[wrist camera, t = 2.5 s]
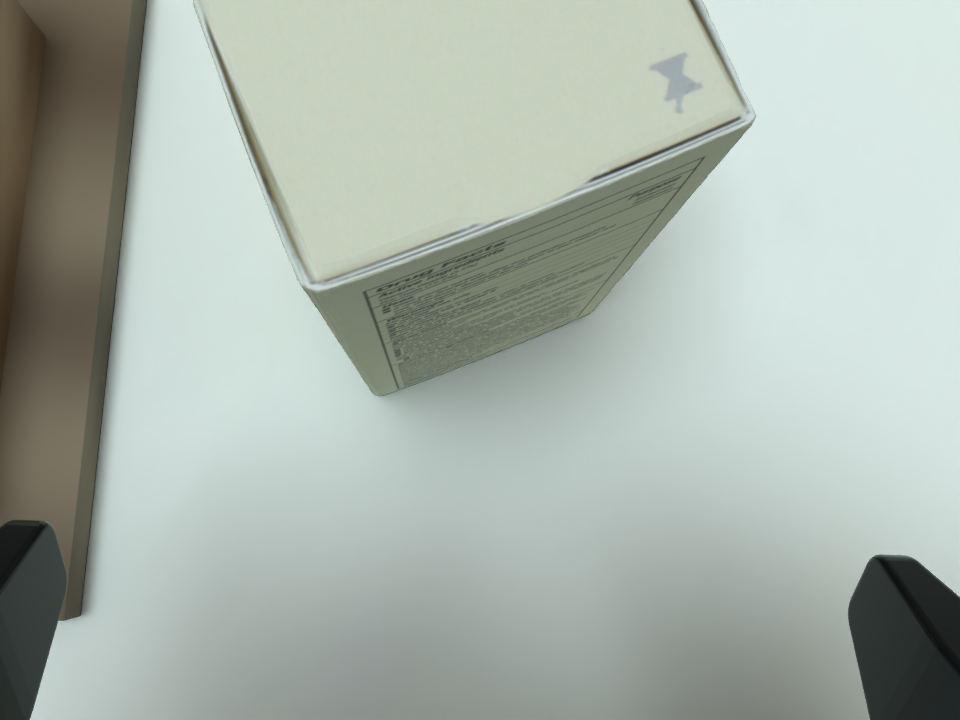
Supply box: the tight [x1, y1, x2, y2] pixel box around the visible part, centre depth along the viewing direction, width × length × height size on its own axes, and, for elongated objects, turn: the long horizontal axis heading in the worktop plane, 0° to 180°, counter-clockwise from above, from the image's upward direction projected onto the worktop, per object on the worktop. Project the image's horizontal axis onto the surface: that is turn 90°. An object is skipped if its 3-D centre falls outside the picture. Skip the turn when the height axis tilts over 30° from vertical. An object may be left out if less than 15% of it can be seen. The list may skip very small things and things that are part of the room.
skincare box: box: [193, 0, 756, 396], centre depth 17 cm, size 6×4×12 cm
